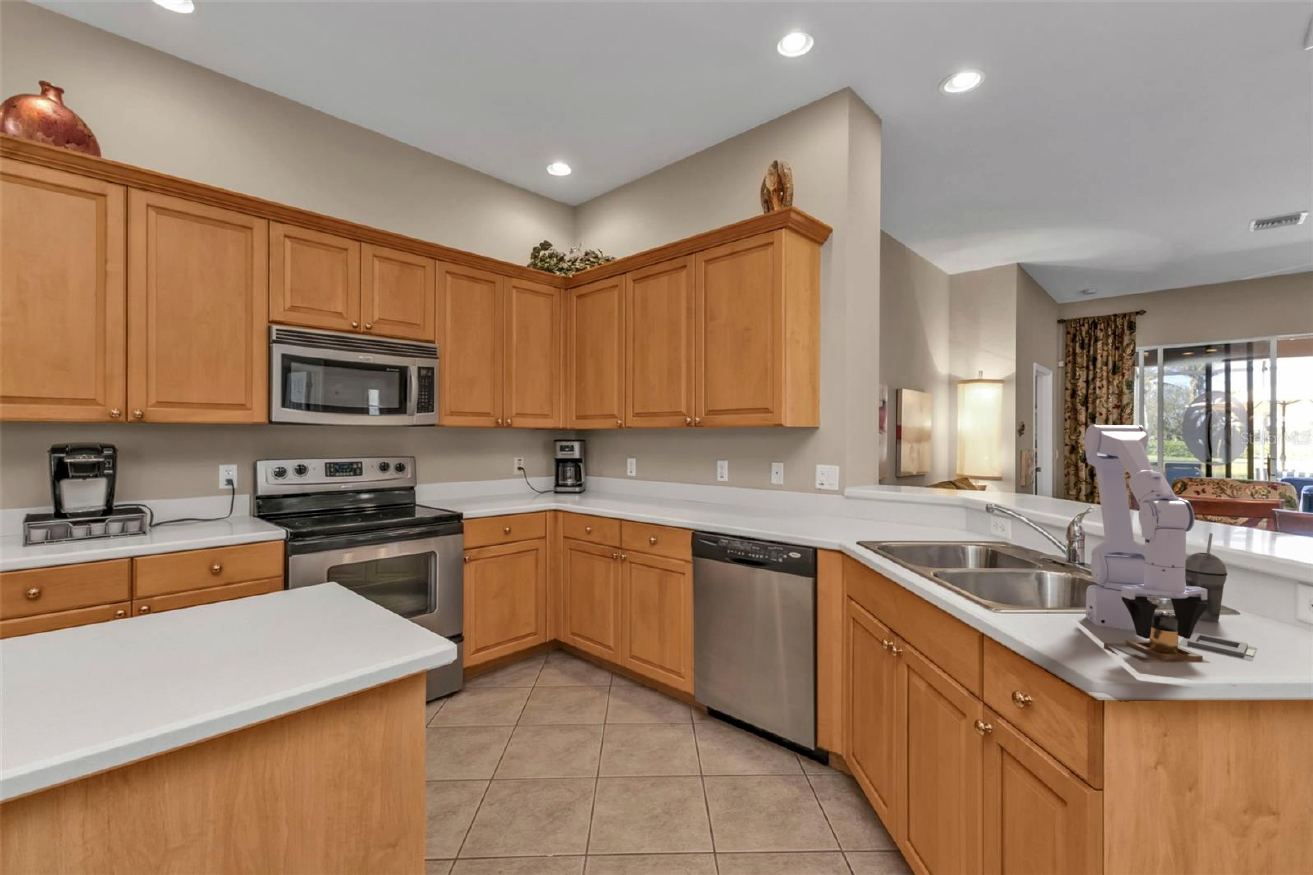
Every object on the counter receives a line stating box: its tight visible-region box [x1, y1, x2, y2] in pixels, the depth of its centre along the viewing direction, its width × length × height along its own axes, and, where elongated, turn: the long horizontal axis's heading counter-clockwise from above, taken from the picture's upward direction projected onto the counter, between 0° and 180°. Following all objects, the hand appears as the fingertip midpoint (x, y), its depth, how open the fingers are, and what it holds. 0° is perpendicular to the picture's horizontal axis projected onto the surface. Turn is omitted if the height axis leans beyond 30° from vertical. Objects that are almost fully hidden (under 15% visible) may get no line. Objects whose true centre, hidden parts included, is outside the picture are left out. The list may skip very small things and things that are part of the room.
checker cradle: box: [1178, 632, 1258, 662], centre depth 110 cm, size 10×10×2 cm
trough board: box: [1103, 640, 1211, 663], centre depth 107 cm, size 12×9×2 cm
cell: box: [1148, 610, 1179, 654], centre depth 107 cm, size 4×4×8 cm
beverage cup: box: [1185, 532, 1228, 623], centre depth 126 cm, size 7×7×20 cm
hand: (1163, 636), depth 107 cm, fingers open, 7 cm apart
